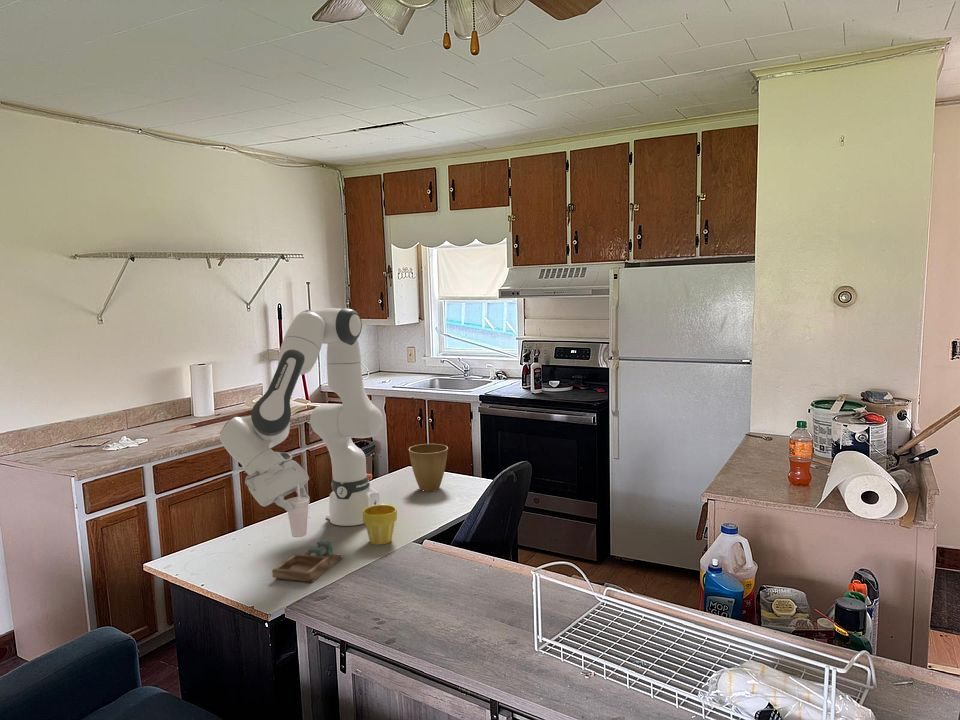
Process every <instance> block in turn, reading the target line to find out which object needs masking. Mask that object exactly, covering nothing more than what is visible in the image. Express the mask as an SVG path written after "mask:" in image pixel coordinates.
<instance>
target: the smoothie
mask: <svg viewBox="0 0 960 720" xmlns="http://www.w3.org/2000/svg"><path fill="white" fill-rule="evenodd" d="M297 490H298V493H297V496H296V497H295V496H294V497H291V498H288V499H285V500H286V501H287V502H291V503H292V504H293V505H294V508H293V510H291V511H290V512H287V515H288V521H289V525H290V526H289V527H290V531H291V536H292V538H302V537H305V536H306V535H307V528H308V516H309V515H308V514H309V504H310V499H309V498H307V497H300V488H299V484H297Z"/></svg>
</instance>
